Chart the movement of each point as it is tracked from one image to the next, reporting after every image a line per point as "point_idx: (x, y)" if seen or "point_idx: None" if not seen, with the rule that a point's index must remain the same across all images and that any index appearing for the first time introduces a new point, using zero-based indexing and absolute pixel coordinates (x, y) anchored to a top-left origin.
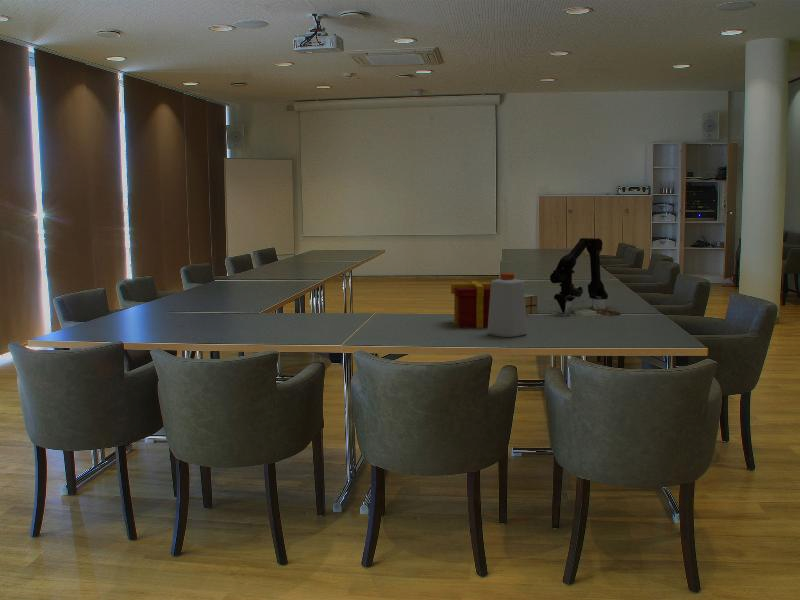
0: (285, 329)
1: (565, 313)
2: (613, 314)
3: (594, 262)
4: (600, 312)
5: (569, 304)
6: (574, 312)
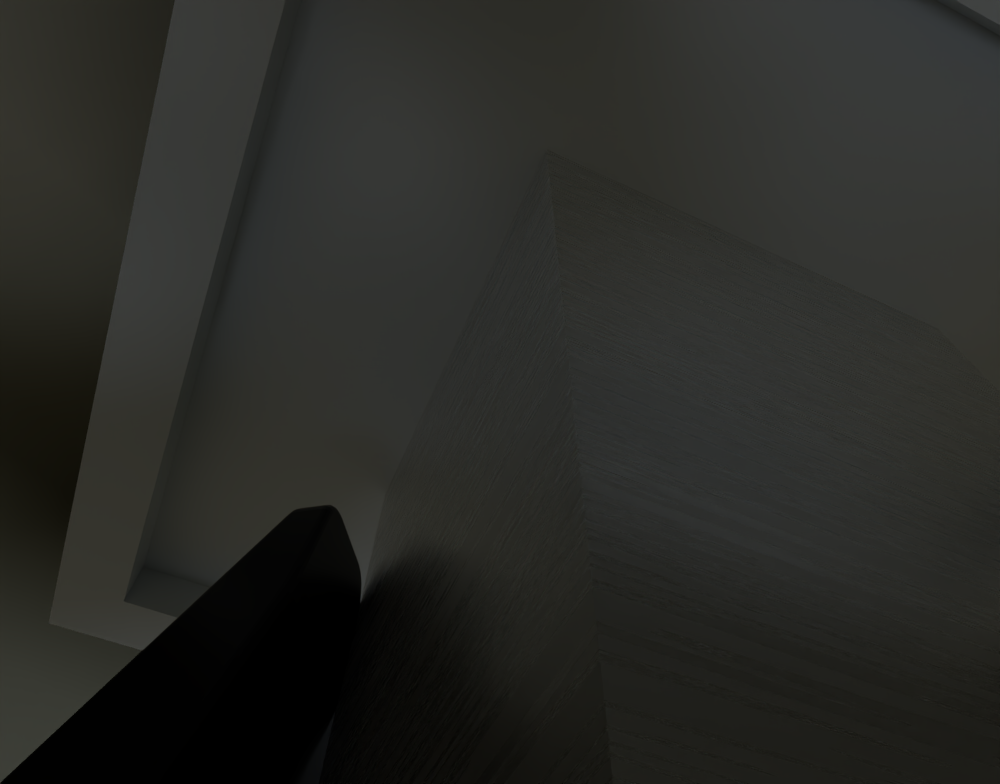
0: None
1: (936, 343)
2: None
3: None
4: None
5: (964, 677)
6: (179, 225)
